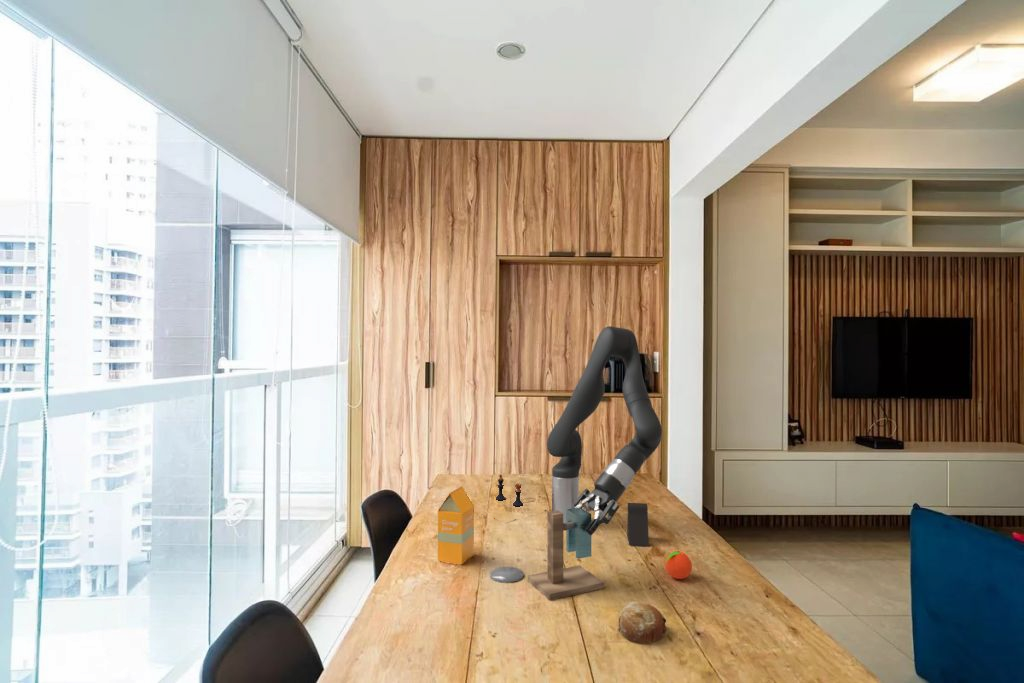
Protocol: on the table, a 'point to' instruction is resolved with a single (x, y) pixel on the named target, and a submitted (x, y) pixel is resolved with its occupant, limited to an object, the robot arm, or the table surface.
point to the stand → (557, 578)
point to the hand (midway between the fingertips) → (579, 528)
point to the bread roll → (641, 623)
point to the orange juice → (456, 528)
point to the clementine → (678, 565)
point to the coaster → (506, 574)
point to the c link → (578, 533)
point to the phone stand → (637, 524)
